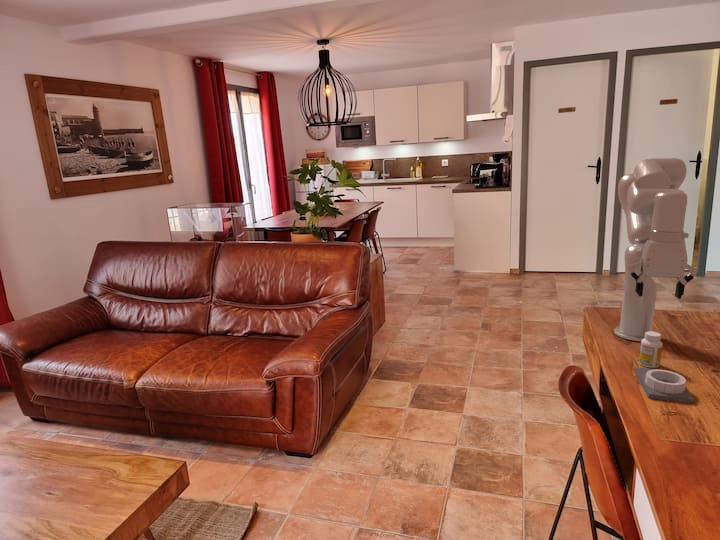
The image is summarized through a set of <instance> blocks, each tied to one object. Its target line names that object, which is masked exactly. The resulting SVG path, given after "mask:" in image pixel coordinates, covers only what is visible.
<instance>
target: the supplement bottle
mask: <svg viewBox="0 0 720 540" xmlns="http://www.w3.org/2000/svg"><path fill="white" fill-rule="evenodd" d="M652 331H653V330H652ZM652 331H648V332H645V338H644V339H642V341H640V347H639V357H638V363H639V364H640V366H643V367H644V368H648V369H657V368H659V367H660V366H661V360H662V359H661V358H662V352H663V342H662V341H661V339H662V338H661V337H662V334H661V333H659V332H656V331H654V332H652Z"/></svg>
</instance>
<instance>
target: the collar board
mask: <svg viewBox="0 0 720 540" xmlns="http://www.w3.org/2000/svg"><path fill="white" fill-rule="evenodd" d="M634 373H635V375H636V376H637V378H638V380H639V383H640V384H641V386H642V388H643V391H644V392H646V393H645V394H646V396H647V398H648V399H654V400H661V401H670V402H679V403H689V404H695V403H694V401H695V398H694V397H693V396H692V393H691V392H690V391H689V390H688V388H687V380H686V378H685V377H684V376H683V375H681V374H679V373H677V372H676V371H674V370H666V369H657V368H647V367H634Z"/></svg>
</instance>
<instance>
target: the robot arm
mask: <svg viewBox="0 0 720 540" xmlns="http://www.w3.org/2000/svg"><path fill="white" fill-rule="evenodd" d="M686 177H687V165H686V163H685V162H684V161H683V160H682V159H680V158H678V157H677V158H676V157H673V158H672V157H671V158H669V157H668V158H661V157H660V158H647V159H646V158H645V159H643V160H641V161H639V162H638V163H637V164H636V165H635V167H634V169H633V173H628V174H626V175H623V176H622V177H621V178H620V179H619V181H618V185H617V194H618V195H617V196H618V200H619V201H618V202H619V203H620V206H621V207H622V208H621V209H622V210H623V212H624V215H625V218H626V220H625V222H626V231H627V239H628V241H629V244H630V245H628V246H627V248H625V252H624V287H623V296H622V303H621V314H620V321H619V322H620V323H619V325H618V326H616V327H615V328H614V330H613V332H614V334H615V335H616V336H618V337H620V338H621V339H625V340H628V341H634V342H641V341H642V339H644V338H645V332H648V331H652V332H655V331H654V330H653V323H654V316H655V310H656V309H655V308H656V300H657V293H658V285H657V282H656V281H655V280H654V278H662V279H663V278H664V279H665V278H667V279H668V278H669V279H676V280H677V282H676V285H675V286H676V287H675V290H674V291H675V293H674V296H675V297H676V298H677V299H678V300H682V296H684V294H685V287H686V285H687V284H688V283H689V282H691V281H692V280H693V279H695V278H694V277H695V276H696V275H697V274H698V273H699V269H698V268H696V267H694V266H693V265H691V264H689V263H688V252H687V245H686V240H685V239H689V233H687V232H684V229H685V227H684V226H685V219H686V212H687V205H688V194H687V193H685V191H684V190H682V189H680V187H681V186H682V184H683V183H684V182H685V179H686ZM686 270H687V271H689V272H688V274H686V275H685V276H684V273H685V271H686Z"/></svg>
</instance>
